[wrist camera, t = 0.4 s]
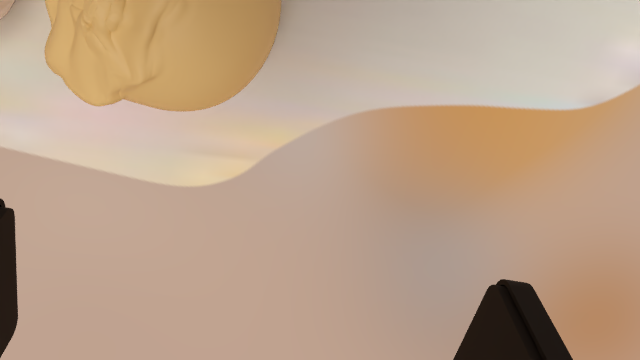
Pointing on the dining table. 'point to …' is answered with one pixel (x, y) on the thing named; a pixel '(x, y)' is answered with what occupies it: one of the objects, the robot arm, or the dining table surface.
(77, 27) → the sculpture
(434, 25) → the dining table surface
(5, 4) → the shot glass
